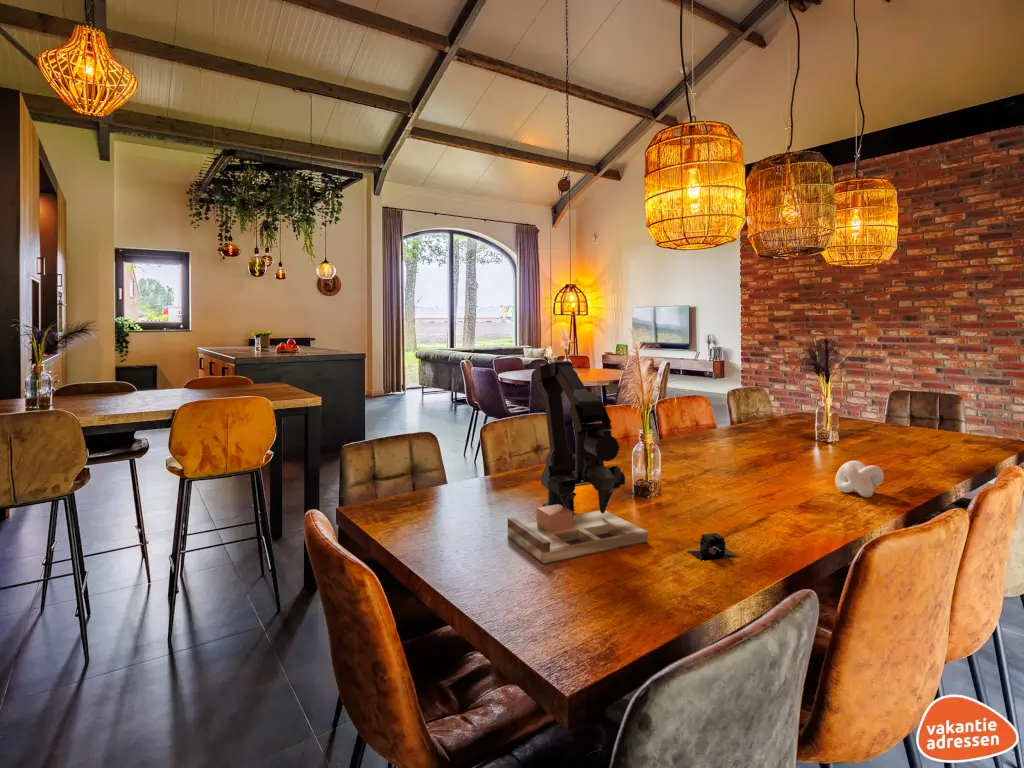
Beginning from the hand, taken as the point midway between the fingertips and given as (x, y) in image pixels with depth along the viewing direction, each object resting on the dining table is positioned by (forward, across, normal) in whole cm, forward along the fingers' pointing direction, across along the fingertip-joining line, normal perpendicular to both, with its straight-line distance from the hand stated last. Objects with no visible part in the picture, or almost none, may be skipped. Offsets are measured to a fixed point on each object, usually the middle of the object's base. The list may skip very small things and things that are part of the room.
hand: (586, 515), depth 134 cm
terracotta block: (+1, -9, 0) cm, 9 cm away
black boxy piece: (+4, +16, -24) cm, 29 cm away
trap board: (+4, -5, -4) cm, 8 cm away
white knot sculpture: (+4, +88, -10) cm, 88 cm away
